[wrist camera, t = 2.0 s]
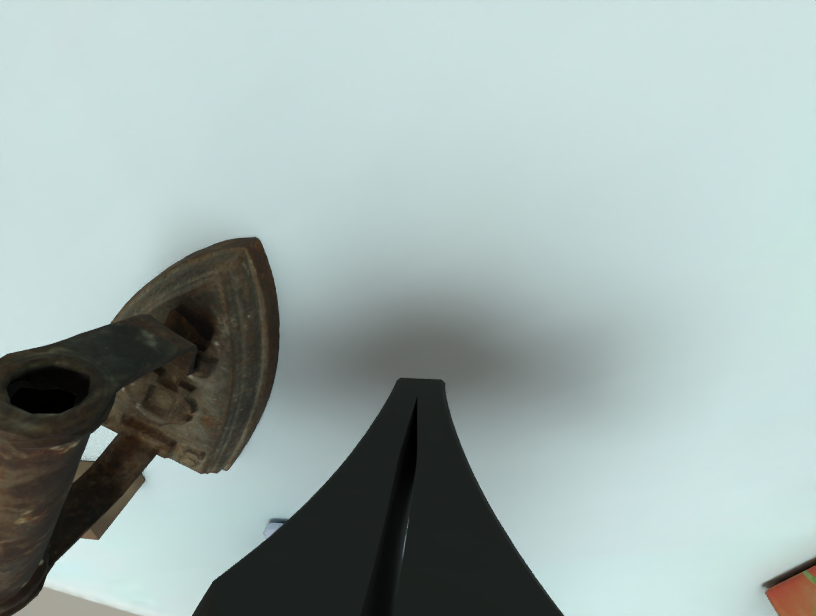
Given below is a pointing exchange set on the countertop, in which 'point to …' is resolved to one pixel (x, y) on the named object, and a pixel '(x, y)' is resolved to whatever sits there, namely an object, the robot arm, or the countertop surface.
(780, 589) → the cracker box
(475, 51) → the countertop surface
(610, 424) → the countertop surface
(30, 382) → the clothes iron
